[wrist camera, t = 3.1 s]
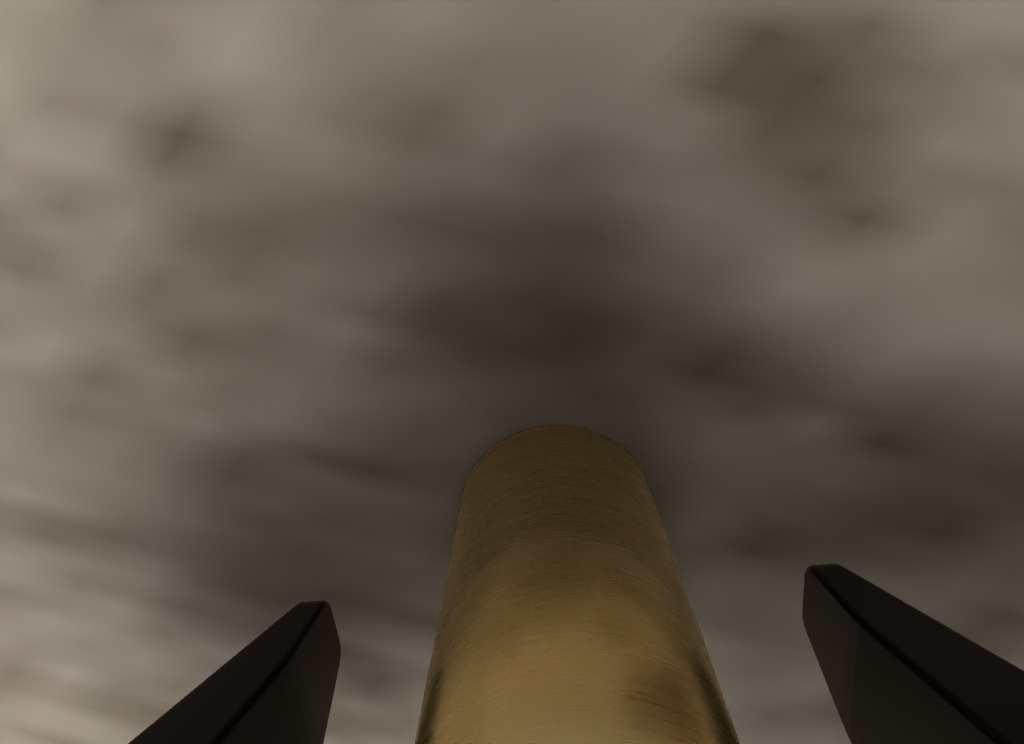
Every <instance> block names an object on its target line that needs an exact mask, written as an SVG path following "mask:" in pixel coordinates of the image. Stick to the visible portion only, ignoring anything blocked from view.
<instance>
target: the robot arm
mask: <svg viewBox="0 0 1024 744" xmlns="http://www.w3.org/2000/svg"><path fill="white" fill-rule="evenodd" d="M802 614H803V622H804V626H805V629H806V632H807V635H808V637H809V640H810V642H811V645H812V647H813V650H814V652H815V655H816V657H817V660H818V662H819V665H820V667H821V670H822V672H823V675H824V678H825V680H826V683H827V685H828V688H829V690H830V693H831V695H832V698H833V700H834V703H835V705H836V708H837V710H838V713H839V715H840V718H841V720H842V723H843V725H844V727H845V730H846V732H847V735H848V737H849V739H850V741H851V743H852V744H1024V671H1023V670H1021V669H1019V668H1018V667H1016V666H1014V665H1012V664H1011V663H1009V662H1007V661H1006V660H1004V659H1002V658H1000V657H999V656H997V655H995V654H993V653H992V652H990V651H988V650H986V649H985V648H983V647H981V646H980V645H978V644H976V643H974V642H973V641H971V640H969V639H967V638H966V637H964V636H962V635H960V634H959V633H957V632H955V631H954V630H952V629H950V628H948V627H947V626H945V625H943V624H941V623H940V622H938V621H936V620H934V619H933V618H931V617H929V616H928V615H926V614H924V613H922V612H921V611H919V610H917V609H915V608H914V607H912V606H910V605H908V604H907V603H905V602H903V601H902V600H900V599H898V598H896V597H895V596H893V595H891V594H889V593H888V592H886V591H884V590H882V589H881V588H879V587H877V586H876V585H874V584H872V583H870V582H869V581H867V580H865V579H863V578H862V577H860V576H858V575H856V574H855V573H853V572H851V571H850V570H848V569H846V568H844V567H843V566H840V565H838V564H821V565H811V566H809V567H808V568H807V569H806V572H805V577H804V593H803V610H802ZM340 658H341V646H340V641H339V637H338V633H337V629H336V625H335V621H334V617H333V613H332V609H331V607H330V605H329V603H328V602H326V601H309V602H301V603H299V604H297V605H296V606H295V607H293V608H292V609H291V610H290V611H289V612H287V613H286V614H285V615H284V616H283V617H281V618H280V619H279V620H278V621H276V622H275V623H274V624H273V625H272V626H270V627H269V628H268V629H267V630H266V631H264V632H263V633H262V634H261V635H259V636H258V637H257V638H256V639H255V640H253V641H252V642H251V643H250V644H249V645H247V646H246V647H245V648H244V649H242V650H241V651H240V652H239V653H238V654H236V655H235V656H234V657H233V658H232V659H230V660H229V661H228V662H227V663H225V664H224V665H223V666H222V667H221V668H219V669H218V670H217V671H216V672H215V673H213V674H212V675H211V676H210V677H208V678H207V679H206V680H205V681H204V682H202V683H201V684H200V685H199V686H198V687H196V688H195V689H194V690H193V691H191V692H190V693H189V694H188V695H187V696H185V697H184V698H183V699H182V700H181V701H179V702H178V703H177V704H176V705H174V706H173V707H172V708H171V709H170V710H168V711H167V712H166V713H165V714H164V715H162V716H161V717H160V718H159V719H157V720H156V721H155V722H154V723H153V724H151V725H150V726H149V727H148V728H147V729H145V730H144V731H143V732H142V733H140V734H139V735H138V736H137V737H136V738H134V739H133V740H132V741H131V742H129V743H128V744H323V743H324V738H325V733H326V728H327V723H328V718H329V713H330V708H331V703H332V698H333V694H334V689H335V684H336V679H337V674H338V669H339V664H340Z"/></svg>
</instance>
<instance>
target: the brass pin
mask: <svg viewBox="0 0 1024 744" xmlns="http://www.w3.org/2000/svg"><path fill="white" fill-rule="evenodd" d="M415 744H740V742H739V739H738V736H737V734H736V731H735V728H734V725H733V722H732V720H731V717H730V714H729V711H728V708H727V706H726V703H725V700H724V697H723V694H722V692H721V689H720V686H719V683H718V680H717V677H716V675H715V672H714V669H713V666H712V663H711V661H710V658H709V655H708V652H707V649H706V647H705V644H704V641H703V638H702V635H701V633H700V630H699V627H698V624H697V621H696V619H695V616H694V613H693V610H692V607H691V605H690V602H689V599H688V596H687V593H686V590H685V588H684V585H683V582H682V579H681V576H680V574H679V571H678V568H677V565H676V562H675V560H674V557H673V554H672V551H671V548H670V546H669V543H668V540H667V537H666V534H665V532H664V529H663V526H662V523H661V520H660V518H659V515H658V512H657V509H656V506H655V503H654V501H653V498H652V495H651V492H650V489H649V487H648V484H647V481H646V479H645V477H644V475H643V472H642V471H641V469H640V468H639V466H638V465H637V463H636V462H635V461H634V459H633V458H632V457H631V456H630V455H629V454H628V453H627V452H626V451H625V450H624V449H623V448H621V447H620V446H619V445H618V444H616V443H615V442H613V441H612V440H610V439H608V438H606V437H604V436H602V435H600V434H598V433H595V432H592V431H589V430H587V429H582V428H578V427H572V426H561V425H557V426H543V427H536V428H532V429H528V430H524V431H521V432H519V433H516V434H514V435H511V436H509V437H507V438H506V439H504V440H502V441H500V442H499V443H497V444H496V445H495V446H493V447H492V448H491V449H489V450H488V451H487V452H486V453H485V454H484V455H483V456H482V457H481V458H480V460H479V461H478V462H477V464H476V465H475V466H474V468H473V469H472V471H471V473H470V475H469V476H468V479H467V481H466V484H465V487H464V490H463V495H462V500H461V505H460V510H459V515H458V520H457V526H456V531H455V536H454V541H453V546H452V552H451V557H450V562H449V567H448V572H447V578H446V583H445V588H444V593H443V599H442V604H441V609H440V614H439V619H438V625H437V630H436V635H435V640H434V645H433V651H432V656H431V661H430V666H429V671H428V677H427V682H426V687H425V692H424V697H423V703H422V708H421V713H420V718H419V723H418V729H417V734H416V739H415Z"/></svg>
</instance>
